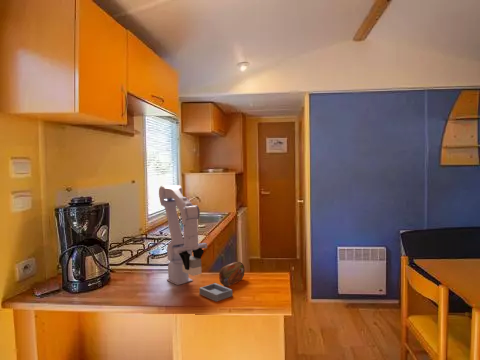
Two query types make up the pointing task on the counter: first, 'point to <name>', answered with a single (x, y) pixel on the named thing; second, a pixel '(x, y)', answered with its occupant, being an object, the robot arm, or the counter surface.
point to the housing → (193, 266)
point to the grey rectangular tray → (215, 292)
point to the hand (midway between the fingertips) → (191, 268)
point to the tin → (231, 273)
